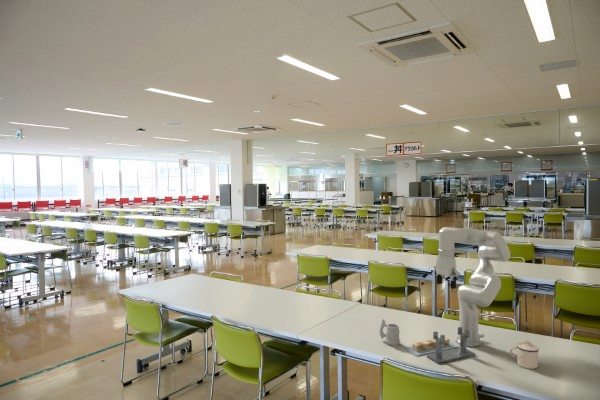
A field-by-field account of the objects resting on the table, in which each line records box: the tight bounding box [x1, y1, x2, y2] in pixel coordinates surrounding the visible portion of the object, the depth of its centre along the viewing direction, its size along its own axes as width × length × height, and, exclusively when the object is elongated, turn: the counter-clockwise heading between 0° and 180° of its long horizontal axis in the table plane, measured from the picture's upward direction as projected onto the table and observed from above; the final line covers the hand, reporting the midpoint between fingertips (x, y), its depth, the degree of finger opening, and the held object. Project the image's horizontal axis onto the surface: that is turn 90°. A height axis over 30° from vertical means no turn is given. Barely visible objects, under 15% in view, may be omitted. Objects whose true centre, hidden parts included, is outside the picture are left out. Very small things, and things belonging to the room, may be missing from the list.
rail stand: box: [426, 326, 476, 365], centre depth 193 cm, size 24×8×13 cm, turn 113°
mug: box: [379, 318, 401, 347], centre depth 211 cm, size 8×12×12 cm, turn 50°
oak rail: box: [412, 336, 451, 352], centre depth 204 cm, size 22×3×3 cm, turn 112°
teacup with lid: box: [509, 340, 540, 370], centre depth 185 cm, size 12×9×12 cm
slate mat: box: [403, 341, 460, 357], centre depth 204 cm, size 28×10×1 cm, turn 113°
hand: (446, 285), depth 198 cm, fingers open, 9 cm apart
